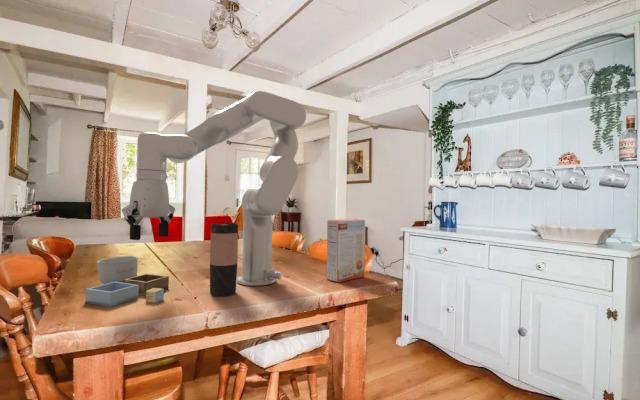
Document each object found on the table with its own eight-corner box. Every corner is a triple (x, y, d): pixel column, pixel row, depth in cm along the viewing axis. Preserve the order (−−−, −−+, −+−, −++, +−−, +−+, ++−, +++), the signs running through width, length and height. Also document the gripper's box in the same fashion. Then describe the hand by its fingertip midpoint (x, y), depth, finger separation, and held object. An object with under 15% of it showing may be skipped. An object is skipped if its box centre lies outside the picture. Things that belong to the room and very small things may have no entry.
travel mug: (229, 297, 94) (231, 225, 94) (203, 295, 95) (205, 224, 95) (240, 290, 101) (242, 223, 101) (217, 288, 103) (218, 222, 102)
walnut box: (168, 287, 102) (168, 276, 102) (146, 295, 94) (146, 282, 94) (146, 285, 105) (146, 273, 105) (122, 291, 97) (123, 279, 97)
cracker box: (352, 274, 127) (353, 218, 127) (364, 277, 123) (366, 219, 123) (325, 279, 118) (326, 219, 118) (337, 283, 114) (339, 220, 114)
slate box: (138, 297, 92) (138, 284, 92) (110, 306, 84) (110, 292, 84) (114, 294, 94) (115, 281, 94) (85, 302, 86) (85, 288, 86)
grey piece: (118, 290, 98) (119, 262, 98) (87, 287, 101) (87, 260, 101) (151, 279, 112) (152, 255, 112) (123, 276, 114) (123, 253, 114)
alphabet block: (155, 303, 88) (155, 291, 88) (145, 302, 88) (145, 290, 88) (164, 300, 91) (164, 288, 91) (154, 298, 91) (154, 287, 91)
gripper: (165, 179, 105) (163, 234, 105) (113, 175, 89) (111, 240, 89) (184, 179, 103) (182, 236, 103) (135, 175, 86) (133, 242, 87)
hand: (149, 238), depth 96 cm, fingers open, 9 cm apart
